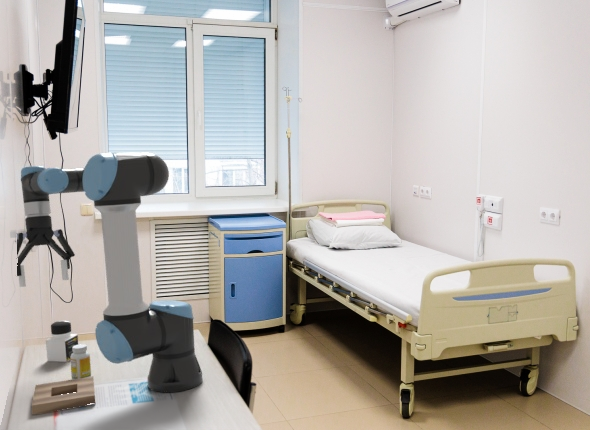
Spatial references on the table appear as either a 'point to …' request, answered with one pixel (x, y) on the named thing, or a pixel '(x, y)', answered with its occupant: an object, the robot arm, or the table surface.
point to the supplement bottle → (80, 362)
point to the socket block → (52, 400)
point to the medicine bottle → (61, 342)
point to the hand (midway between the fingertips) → (44, 283)
